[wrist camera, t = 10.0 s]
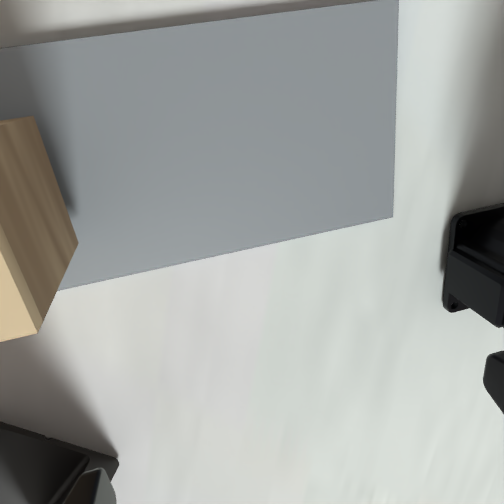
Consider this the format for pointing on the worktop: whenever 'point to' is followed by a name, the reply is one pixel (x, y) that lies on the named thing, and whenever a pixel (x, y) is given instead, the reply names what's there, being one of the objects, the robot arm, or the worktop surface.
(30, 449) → the phone stand
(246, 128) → the board
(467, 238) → the robot arm
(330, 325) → the worktop surface
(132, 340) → the worktop surface
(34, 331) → the wooden block
